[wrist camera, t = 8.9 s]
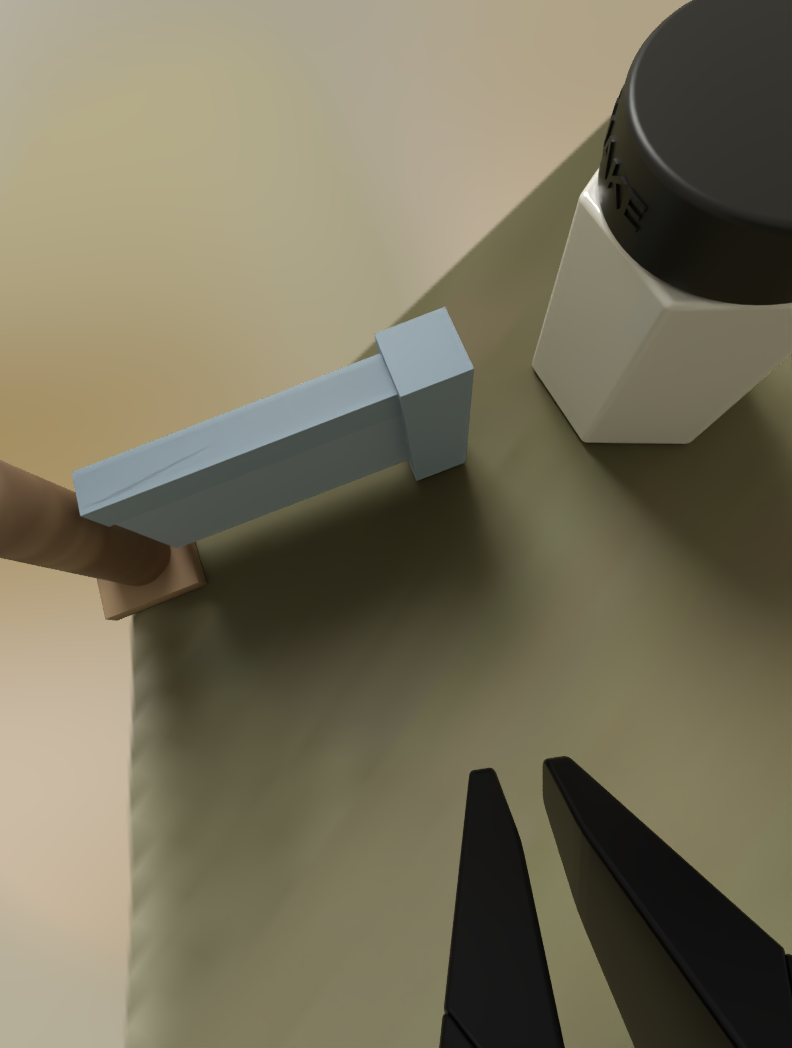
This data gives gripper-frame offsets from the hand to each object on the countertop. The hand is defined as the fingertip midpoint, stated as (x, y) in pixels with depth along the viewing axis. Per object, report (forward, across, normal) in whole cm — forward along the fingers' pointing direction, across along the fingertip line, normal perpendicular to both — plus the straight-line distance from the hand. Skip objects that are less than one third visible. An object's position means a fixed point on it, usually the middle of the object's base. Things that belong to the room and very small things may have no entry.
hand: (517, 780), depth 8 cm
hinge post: (+16, +12, +2) cm, 20 cm away
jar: (+18, -11, -4) cm, 21 cm away
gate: (+16, +4, 0) cm, 17 cm away
